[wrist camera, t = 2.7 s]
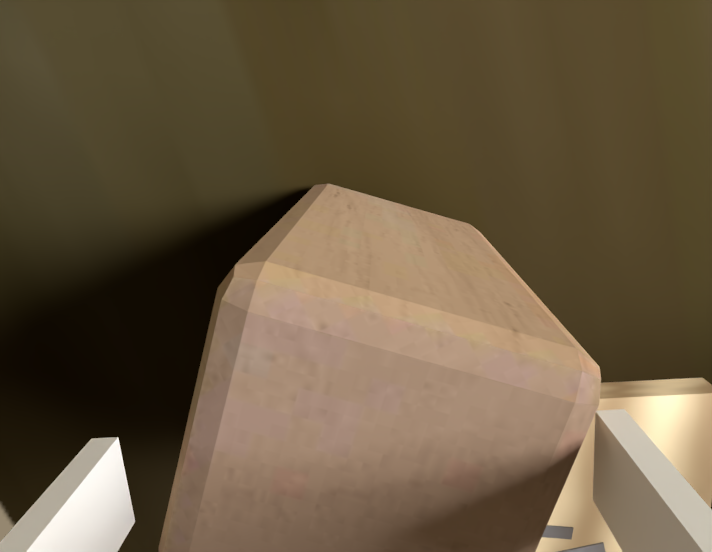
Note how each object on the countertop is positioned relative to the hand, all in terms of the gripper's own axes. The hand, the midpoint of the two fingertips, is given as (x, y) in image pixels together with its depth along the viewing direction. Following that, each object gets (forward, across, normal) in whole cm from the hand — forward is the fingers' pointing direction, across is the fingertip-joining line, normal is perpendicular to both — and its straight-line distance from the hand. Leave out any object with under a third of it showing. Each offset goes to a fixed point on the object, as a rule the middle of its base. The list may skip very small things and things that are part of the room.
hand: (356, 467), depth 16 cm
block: (+19, 0, 0) cm, 19 cm away
